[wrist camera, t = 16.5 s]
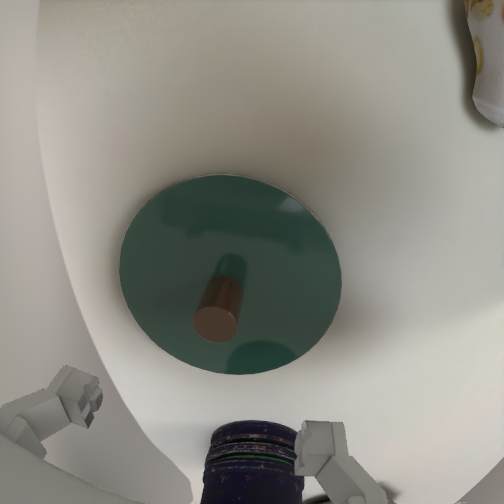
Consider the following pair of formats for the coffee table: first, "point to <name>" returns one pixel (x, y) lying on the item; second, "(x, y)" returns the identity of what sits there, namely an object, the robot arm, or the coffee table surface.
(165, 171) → the coffee table surface
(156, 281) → the pot lid
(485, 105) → the painted ceramic vase
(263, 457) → the storage jar
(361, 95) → the coffee table surface
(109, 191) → the coffee table surface
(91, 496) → the robot arm
